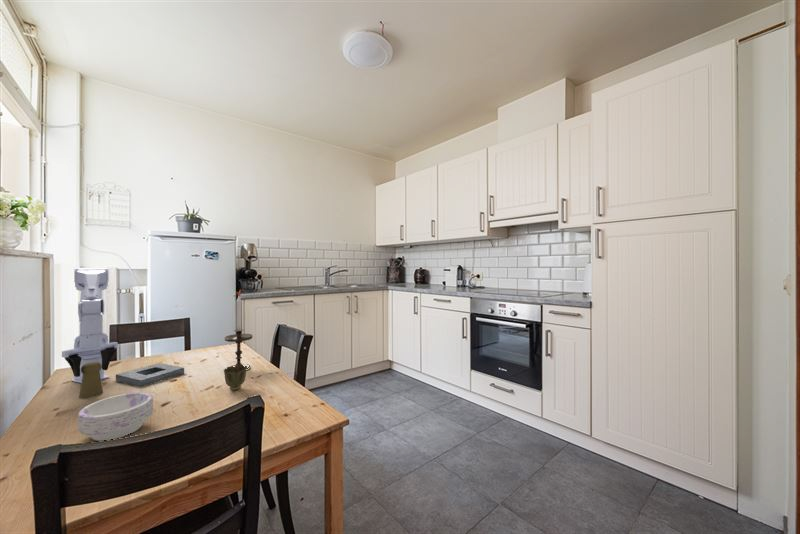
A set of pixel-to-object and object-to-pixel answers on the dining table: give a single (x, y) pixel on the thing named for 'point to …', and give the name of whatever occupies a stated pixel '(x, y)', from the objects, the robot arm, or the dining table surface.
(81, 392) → the olive tapered cylinder
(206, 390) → the dining table surface
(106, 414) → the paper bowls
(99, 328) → the robot arm
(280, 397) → the dining table surface
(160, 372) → the plate
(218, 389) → the dining table surface
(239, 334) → the candlestick
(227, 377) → the cup
